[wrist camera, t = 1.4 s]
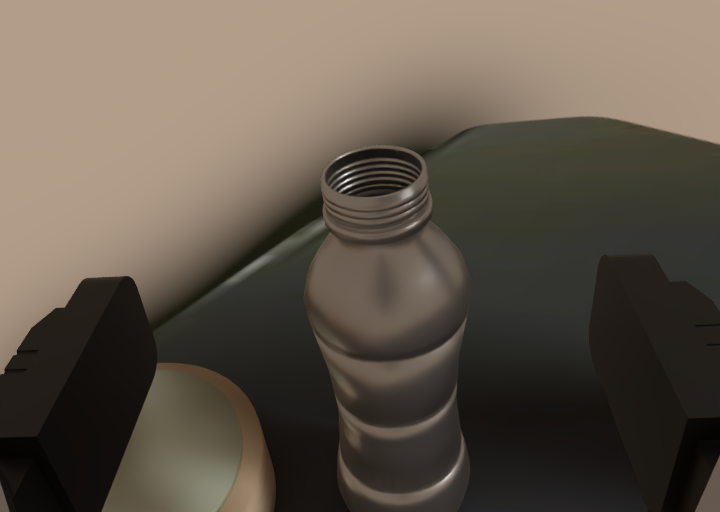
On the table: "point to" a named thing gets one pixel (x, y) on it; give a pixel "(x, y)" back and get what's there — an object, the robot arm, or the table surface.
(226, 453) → the wooden stand
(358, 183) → the plastic bottle
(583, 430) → the table surface
